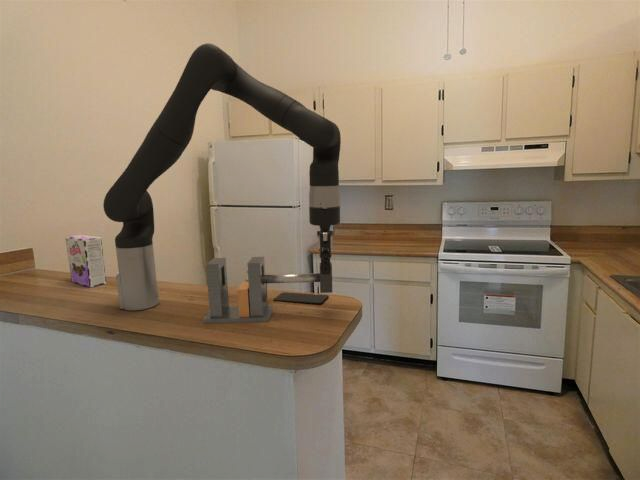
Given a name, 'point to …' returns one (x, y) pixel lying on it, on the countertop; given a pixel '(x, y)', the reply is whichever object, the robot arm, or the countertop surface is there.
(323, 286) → the shaft
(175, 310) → the countertop surface
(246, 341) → the countertop surface
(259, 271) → the bearing bracket
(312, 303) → the smartphone
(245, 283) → the spacer
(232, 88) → the robot arm
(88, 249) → the candy box
